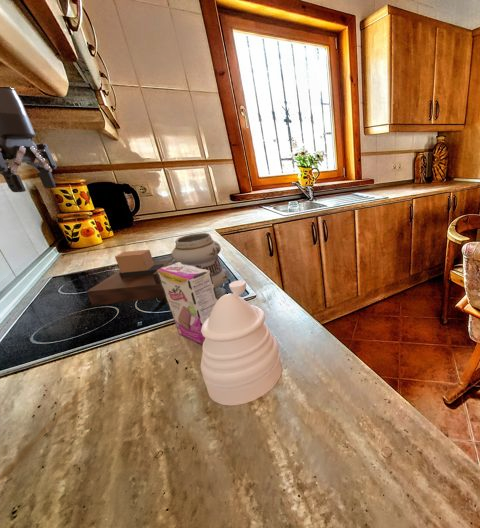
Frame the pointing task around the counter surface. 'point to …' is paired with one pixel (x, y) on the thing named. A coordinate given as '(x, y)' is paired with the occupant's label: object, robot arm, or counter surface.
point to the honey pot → (238, 351)
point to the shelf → (129, 288)
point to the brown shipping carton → (136, 263)
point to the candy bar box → (188, 297)
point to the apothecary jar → (202, 257)
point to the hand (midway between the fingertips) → (35, 189)
